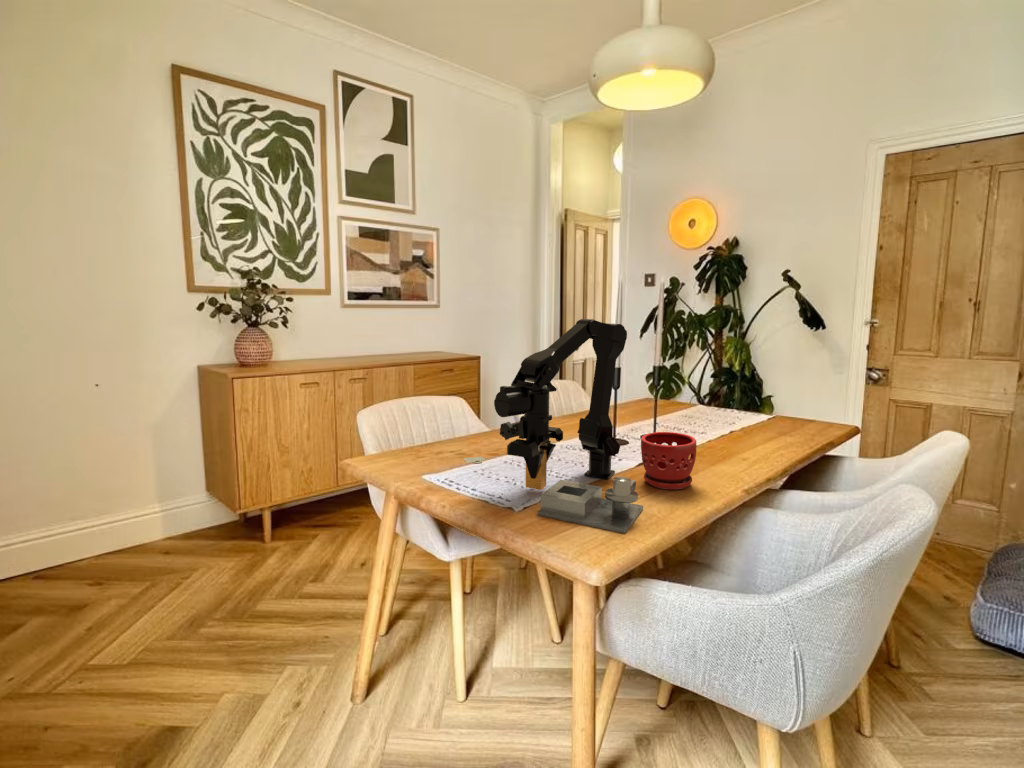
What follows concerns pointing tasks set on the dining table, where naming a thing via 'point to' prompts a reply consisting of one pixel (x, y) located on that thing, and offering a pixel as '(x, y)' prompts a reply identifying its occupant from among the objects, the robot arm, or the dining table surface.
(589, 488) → the grey metal frame fixture
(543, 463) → the rectangular wooden peg
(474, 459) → the mounting bracket
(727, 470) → the dining table surface
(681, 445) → the plant pot
